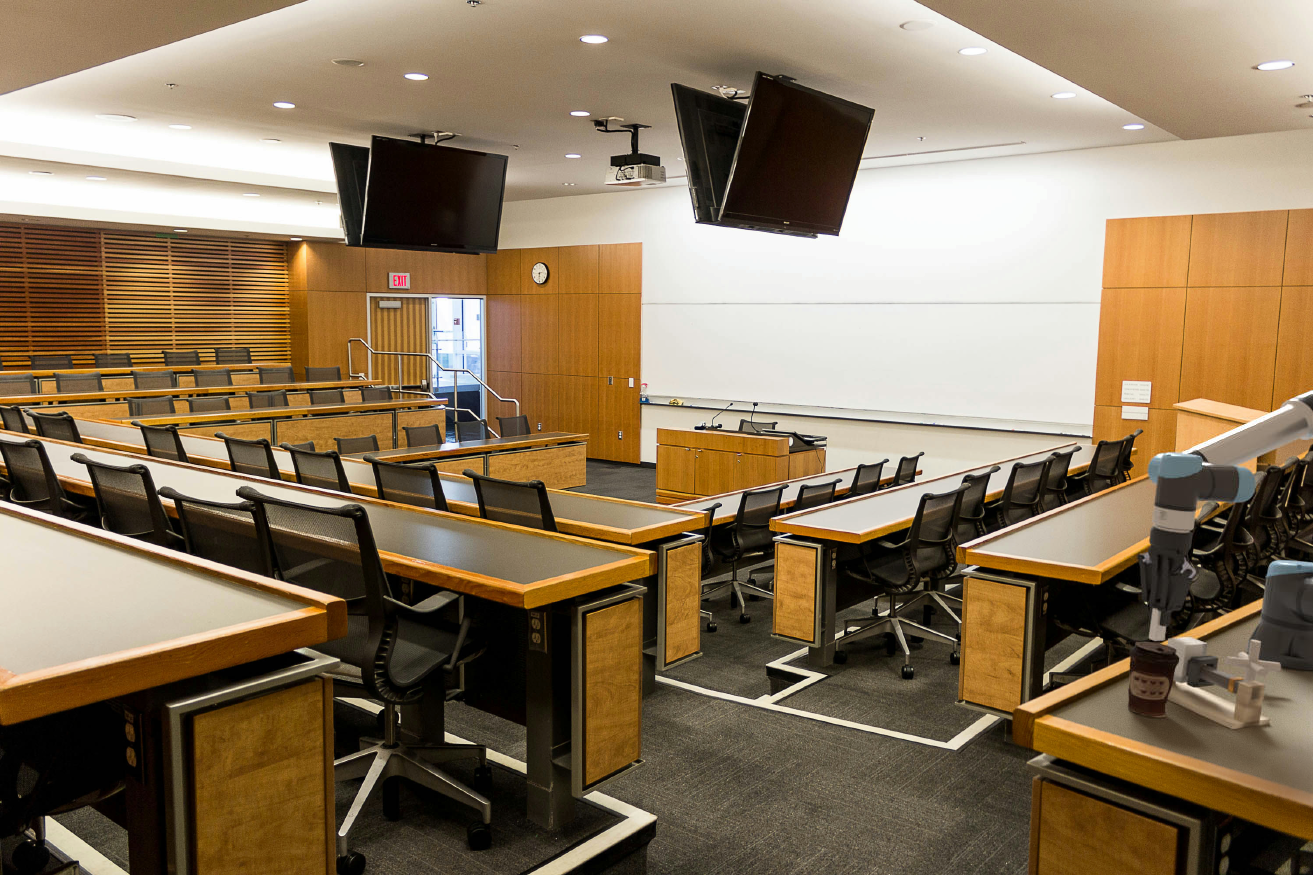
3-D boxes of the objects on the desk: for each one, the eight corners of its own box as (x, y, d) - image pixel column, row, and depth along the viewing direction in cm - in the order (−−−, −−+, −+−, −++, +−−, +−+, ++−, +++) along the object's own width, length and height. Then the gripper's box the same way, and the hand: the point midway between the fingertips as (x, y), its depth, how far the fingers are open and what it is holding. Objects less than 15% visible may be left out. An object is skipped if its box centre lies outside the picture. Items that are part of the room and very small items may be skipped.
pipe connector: (1286, 699, 188) (1293, 652, 187) (1232, 692, 190) (1239, 645, 189) (1264, 681, 198) (1271, 636, 197) (1213, 674, 200) (1220, 630, 199)
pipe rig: (1176, 683, 193) (1181, 646, 192) (1269, 723, 175) (1275, 683, 174) (1141, 687, 190) (1146, 649, 189) (1232, 728, 171) (1238, 687, 170)
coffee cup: (1171, 725, 171) (1180, 657, 169) (1121, 713, 175) (1130, 647, 173) (1171, 709, 179) (1180, 645, 177) (1123, 698, 183) (1132, 635, 181)
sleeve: (1184, 673, 189) (1189, 636, 188) (1202, 680, 186) (1207, 643, 185) (1163, 675, 187) (1168, 638, 186) (1180, 683, 183) (1185, 645, 183)
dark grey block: (1206, 682, 184) (1210, 655, 184) (1214, 685, 183) (1218, 658, 182) (1186, 684, 182) (1190, 657, 182) (1194, 687, 181) (1198, 660, 180)
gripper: (1131, 521, 194) (1117, 629, 197) (1186, 536, 182) (1170, 651, 185) (1158, 521, 197) (1143, 627, 200) (1213, 535, 185) (1197, 648, 188)
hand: (1156, 639), depth 192 cm, fingers closed
